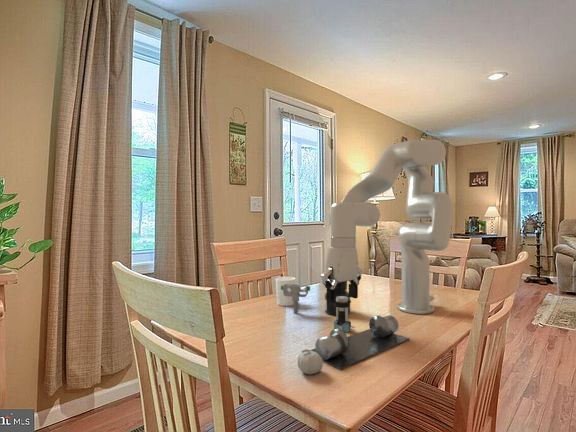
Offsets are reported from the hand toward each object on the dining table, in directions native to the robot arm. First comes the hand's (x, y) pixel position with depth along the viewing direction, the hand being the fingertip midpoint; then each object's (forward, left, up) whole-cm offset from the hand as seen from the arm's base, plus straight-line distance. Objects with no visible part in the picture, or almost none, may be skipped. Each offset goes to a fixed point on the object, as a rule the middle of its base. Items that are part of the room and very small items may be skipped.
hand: (342, 299), depth 104 cm
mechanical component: (-1, -23, -10) cm, 25 cm away
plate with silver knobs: (+5, +11, -10) cm, 15 cm away
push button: (-1, 0, -10) cm, 10 cm away
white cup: (-6, -35, -10) cm, 37 cm away
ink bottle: (-13, -14, -10) cm, 21 cm away
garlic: (+25, +13, -10) cm, 30 cm away
